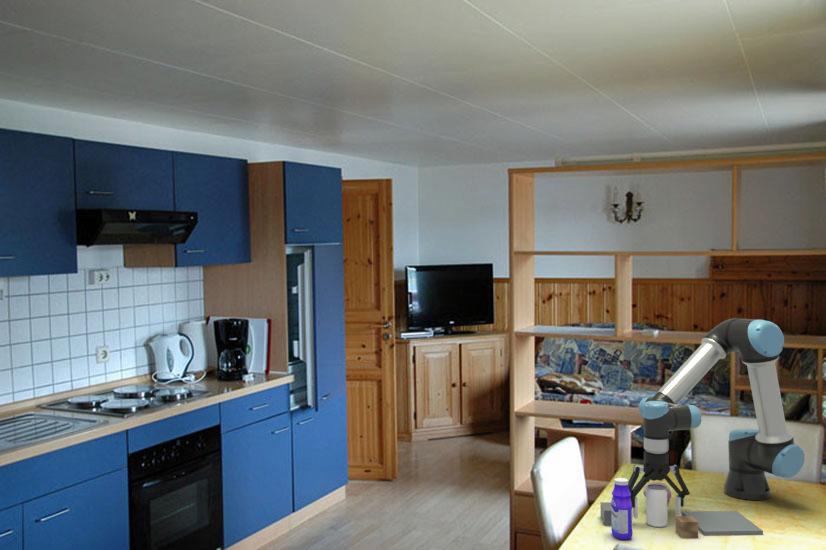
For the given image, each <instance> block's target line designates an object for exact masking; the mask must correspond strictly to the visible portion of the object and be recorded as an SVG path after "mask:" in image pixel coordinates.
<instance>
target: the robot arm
mask: <svg viewBox="0 0 826 550" xmlns="http://www.w3.org/2000/svg"><path fill="white" fill-rule="evenodd" d="M784 345H785V336H784V334H783V332H782V330H781V329H780V327H779V326H778V325H777V324H775V323H774V322H772V321H769V320H764V319H760V318H759V319H755V318H754V319H752V318H751V319H750V318H741V317H734V318H729V319H726V320H723V321H722V322H720V323H719V324H717V325H716V326H714V328H711V330H709V331H708V333H706V335H704V337H703V338H702V339H701V341H700V345H699V346H698V347H697V349H696V350H695V351H693V353H692V354H691V355H690V356H689V357H688V358H687V359H686V360H685V362H684V363H682V365H681V366H680V367H679V368H678V369H677V370H676V371H675V372H674V374H672V376H671V377H670V378H669V379H668V380H667V381H666V382H665V383H664V384H663V385H662V386H661V388H659V390H658V391H657V392H656V393H655V394H654V395H653V396H652V397H651V396H650V397H649V396H647V397H643V398H642V399H641V400H640V401H639V403H638V412H639V414H640V416H641V417H642V418H643V419H642V420H643V449H644V450H643V466H640V465H637V464H634V465H633V471H632V473H631V475H630V478H629V480H628V488H629V491H630V493H631V496H630V499H631V502H632V517H633V518H634V519H635V520H637V519H639V512H638V511H639V503H638V500H639V498H638V497H637V495H638V494H639V493H640V492H642V491H641V490H642V489H644V488H645V486H647V485H646V484H647V483H650V481H652V482H653V481H654V482H655V481H662V482H663V480H665V482H667V484H668V485H669V486H670V487H671V488H672V489H673V491H674V492H675V493H676V494H675V496H674V497H675V499H674V501H675V503H674V505H675V507H674V508H675V513H674V514H675V517H676V516H682V511H681V510H682V508H683V507H684V506H685V505H684V498H685V497H686V496H689V495H690V494H691V492H690V490H689V488H688V487H687V485H686V482H685V481H684V479H683V477H682V474H681V473H680V467H679V466H678V465H677V464H675V463H673V465H669V463H670V458H669V455H670V454H669V450H670V449H669V447H670V445H669V443H670V442H669V432H672V431H683V430H684V431H685V430H692V429H697V428H698V427H699V426H701V422H702V414H701V411H700V409H699V408H698V407H697V406H696V405H693V404H685V405H683V404H682V405H680V404H679V403H680V402H682V400H684V398H685V397H686V396H687V395H688V394H689V393H690V392H691V390H693V388H695V386H696V385H697V384H698V383H699V382H700V381H701V379H703V378H704V376H705V375H706V374H707V373H708V372H709V371H710V369H713V368H712V367H714V365H716V364H717V362H719V360H724V359H725V358H726V357H727V356H728V355H730V354H731V353H737V352H738V353H739V356H740V360H741V362H742V364H744V365H745V366H747V367H746V368H747V372H748V379H749V384H750V388H751V395H752V400H753V407H754V412H755V416H756V423H757V428H740V429H738V428H737V429H733V430H731V431H729V434H728V441H727V442H728V465H729V466H728V473H727V475H726V478H725V480H724V484H723V493H725V495H727V496H729V497H732V498H736V499H739V498H740V500H745V499H747V500H748V501H764V499H765V500H768V499H770V498H771V489H770V488H771V487H770V485H769V483H768V479H767V477H766V473H768V474H771V475H774V476H775V477H778V478H780V477H781V478H784V479H789V478H791V479H792V478H793V477H795V476H797V475H798V474H799V473H800V471H801V469H802V468H803V467H804V463H805V458H806V457H805V452H804V450H803V448H802V447H800V446H799V444H795V440H794V439H795V438H794V435H793V433H792V432H790V431H789V430H787V424H786V418H785V413H784V406H783V400H782V395H781V390H780V384H779V378H778V373H777V367H776V362H777V361H778V360H779V359H780V356H779V355H780V354H781V352H782V351H783V347H784ZM642 471H643V472H644V474H643V475H642V476H641V478H640V479H639V481H638V482H637V480H638V478H639V476H640V474H641V473H642ZM670 471H671V472H672V473H673V475H674V476H675V478H676V481H677V483H678V484H679V486H680V488H679V487H678V486H677V485H676V484H675V482H674V481H673V480H672V478H671V477H670V476H669V475H668V474H669V473H670ZM636 482H637V483H636ZM769 497H770V498H769ZM767 498H768V499H767Z"/></svg>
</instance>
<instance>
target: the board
mask: <svg viewBox="0 0 826 550" xmlns="http://www.w3.org/2000/svg"><path fill="white" fill-rule="evenodd" d="M681 516H692V517H693V518H694V519H696V520H697V521H698V532H699V533H701V534H702V535H703V536H761V535H764V530H763V529H761V528H760V527H759V526H757V525H756V524H755V523H754V522H753V521H751V520H749V518H747V517H746V516H744V515H743V514H742V513H740V512H739V511H737V510H715V511H714V510H703V511H702V510H700V511H698V510H697V511H693V510H692V511H691V510H690V511H687V510H686V511H684V510H683V511H681Z"/></svg>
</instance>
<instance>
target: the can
mask: <svg viewBox="0 0 826 550" xmlns="http://www.w3.org/2000/svg"><path fill="white" fill-rule="evenodd" d="M647 485H648V484H647ZM647 485H646V486H647ZM668 518H669V517H668V507H667V491H666V487H665V486H663V485H659V484H650V485H648V486H647V489H646V497H645V522H646V523H647V526H649V527H653V528H665V527H667V526H668V524H669V523H668V521H669V520H668Z"/></svg>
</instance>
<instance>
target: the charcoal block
mask: <svg viewBox="0 0 826 550" xmlns="http://www.w3.org/2000/svg"><path fill="white" fill-rule="evenodd" d="M599 506H600V519H601V521H603V522H602V524H603V526H604V527H611V502H600V505H599Z"/></svg>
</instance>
